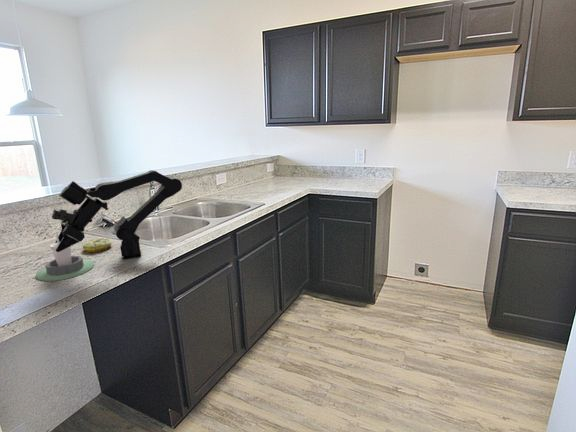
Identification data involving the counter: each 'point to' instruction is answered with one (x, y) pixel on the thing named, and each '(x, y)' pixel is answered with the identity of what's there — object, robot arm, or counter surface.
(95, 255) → the counter surface
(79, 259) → the putting green cup
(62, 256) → the smoothie
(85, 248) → the decorated donut
